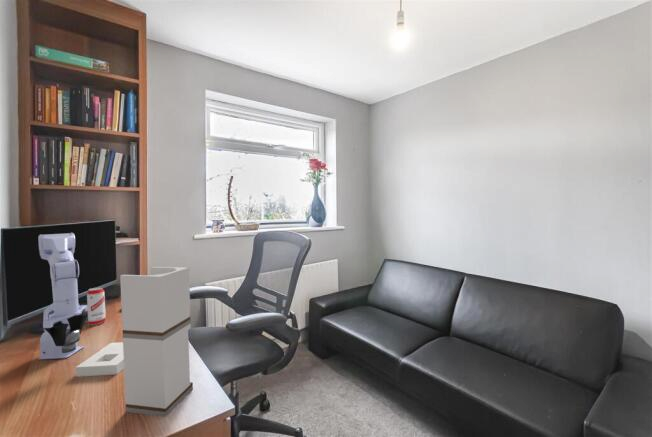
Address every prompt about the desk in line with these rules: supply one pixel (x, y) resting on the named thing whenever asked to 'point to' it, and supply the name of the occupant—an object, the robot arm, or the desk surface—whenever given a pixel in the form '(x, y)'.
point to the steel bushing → (71, 340)
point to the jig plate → (103, 362)
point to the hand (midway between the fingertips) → (68, 340)
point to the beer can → (96, 306)
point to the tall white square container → (156, 339)
